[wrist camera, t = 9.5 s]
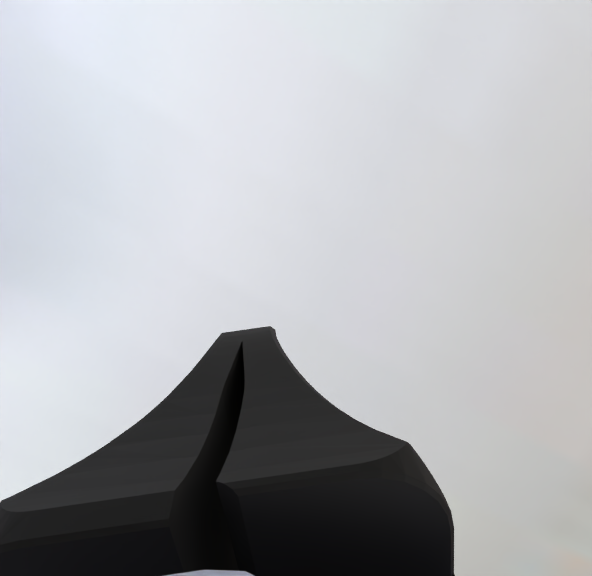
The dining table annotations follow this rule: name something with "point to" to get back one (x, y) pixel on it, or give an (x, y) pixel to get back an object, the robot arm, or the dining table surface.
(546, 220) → the dining table surface
